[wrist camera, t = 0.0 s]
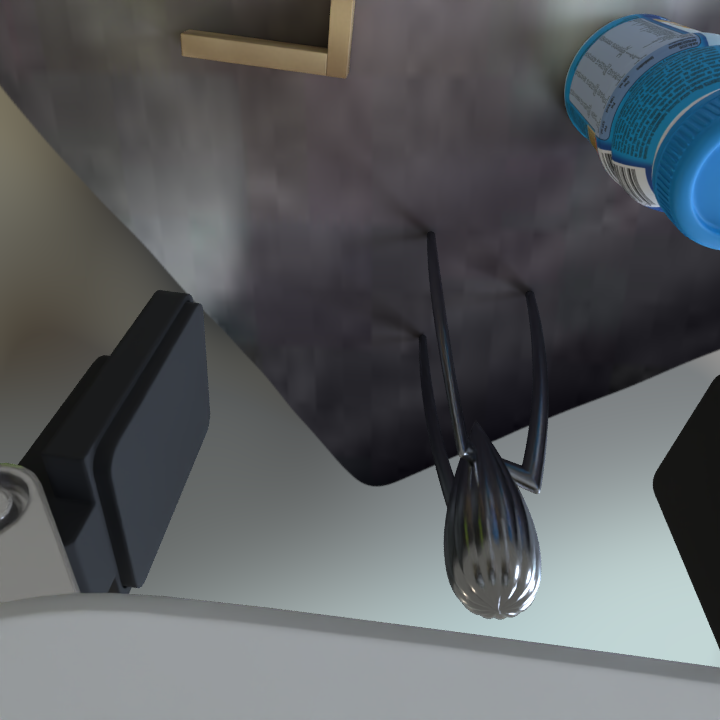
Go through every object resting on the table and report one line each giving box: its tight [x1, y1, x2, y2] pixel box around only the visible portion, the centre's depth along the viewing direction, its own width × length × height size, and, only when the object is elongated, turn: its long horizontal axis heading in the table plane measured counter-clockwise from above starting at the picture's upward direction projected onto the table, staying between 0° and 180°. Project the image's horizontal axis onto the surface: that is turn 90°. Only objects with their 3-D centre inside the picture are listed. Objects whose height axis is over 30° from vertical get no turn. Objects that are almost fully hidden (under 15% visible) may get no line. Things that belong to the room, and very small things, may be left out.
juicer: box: [419, 231, 548, 620], centre depth 39 cm, size 10×11×30 cm
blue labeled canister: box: [564, 14, 720, 250], centre depth 32 cm, size 8×8×20 cm
